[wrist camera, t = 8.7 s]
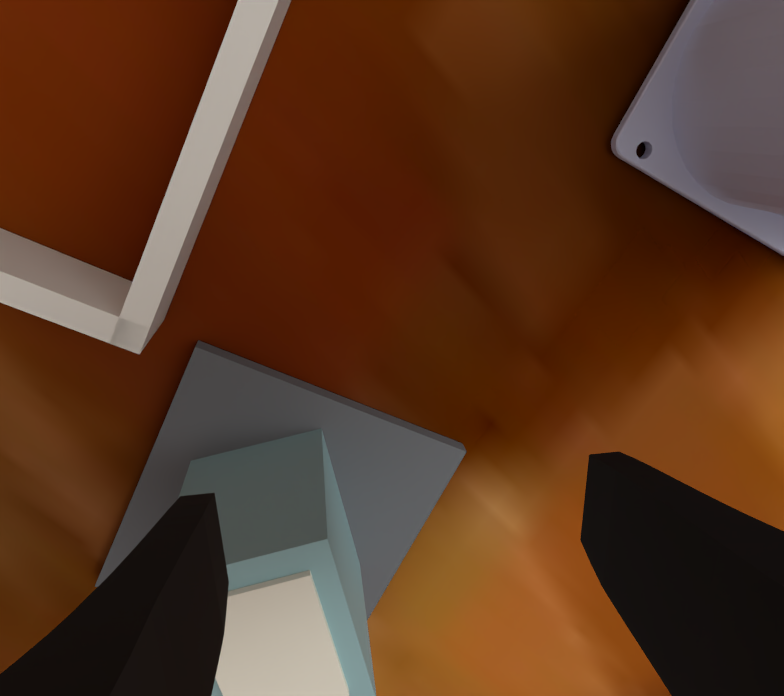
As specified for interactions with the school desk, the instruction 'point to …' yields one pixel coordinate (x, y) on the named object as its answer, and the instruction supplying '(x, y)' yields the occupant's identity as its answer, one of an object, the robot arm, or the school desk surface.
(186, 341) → the school desk surface
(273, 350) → the school desk surface
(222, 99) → the parts bin
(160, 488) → the charcoal mat
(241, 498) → the teal labelled box
